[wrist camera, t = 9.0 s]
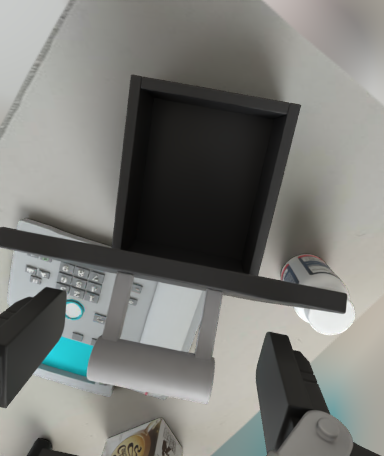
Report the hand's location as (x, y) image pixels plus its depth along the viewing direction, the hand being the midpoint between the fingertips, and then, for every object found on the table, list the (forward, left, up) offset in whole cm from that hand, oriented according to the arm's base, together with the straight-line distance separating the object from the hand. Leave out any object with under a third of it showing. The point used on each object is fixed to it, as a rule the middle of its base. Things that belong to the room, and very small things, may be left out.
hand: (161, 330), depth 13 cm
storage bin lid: (+1, 0, -8) cm, 9 cm away
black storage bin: (-3, 0, -24) cm, 24 cm away
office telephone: (+16, -9, -24) cm, 30 cm away
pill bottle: (+5, +13, -24) cm, 28 cm away
